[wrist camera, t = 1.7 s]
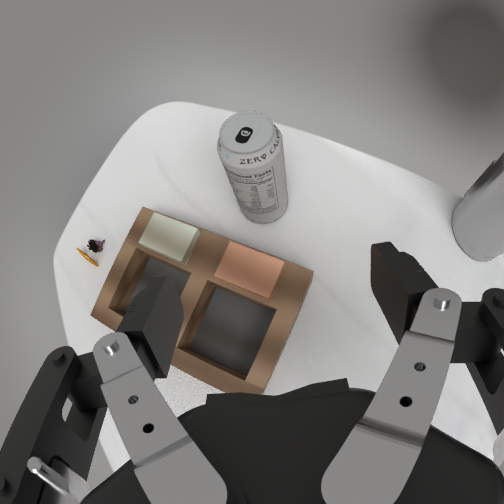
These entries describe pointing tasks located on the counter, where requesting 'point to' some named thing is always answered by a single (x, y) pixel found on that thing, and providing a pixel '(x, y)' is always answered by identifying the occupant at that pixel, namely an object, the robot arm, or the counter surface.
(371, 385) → the counter surface
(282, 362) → the counter surface
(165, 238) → the socket block
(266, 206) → the energy drink can
